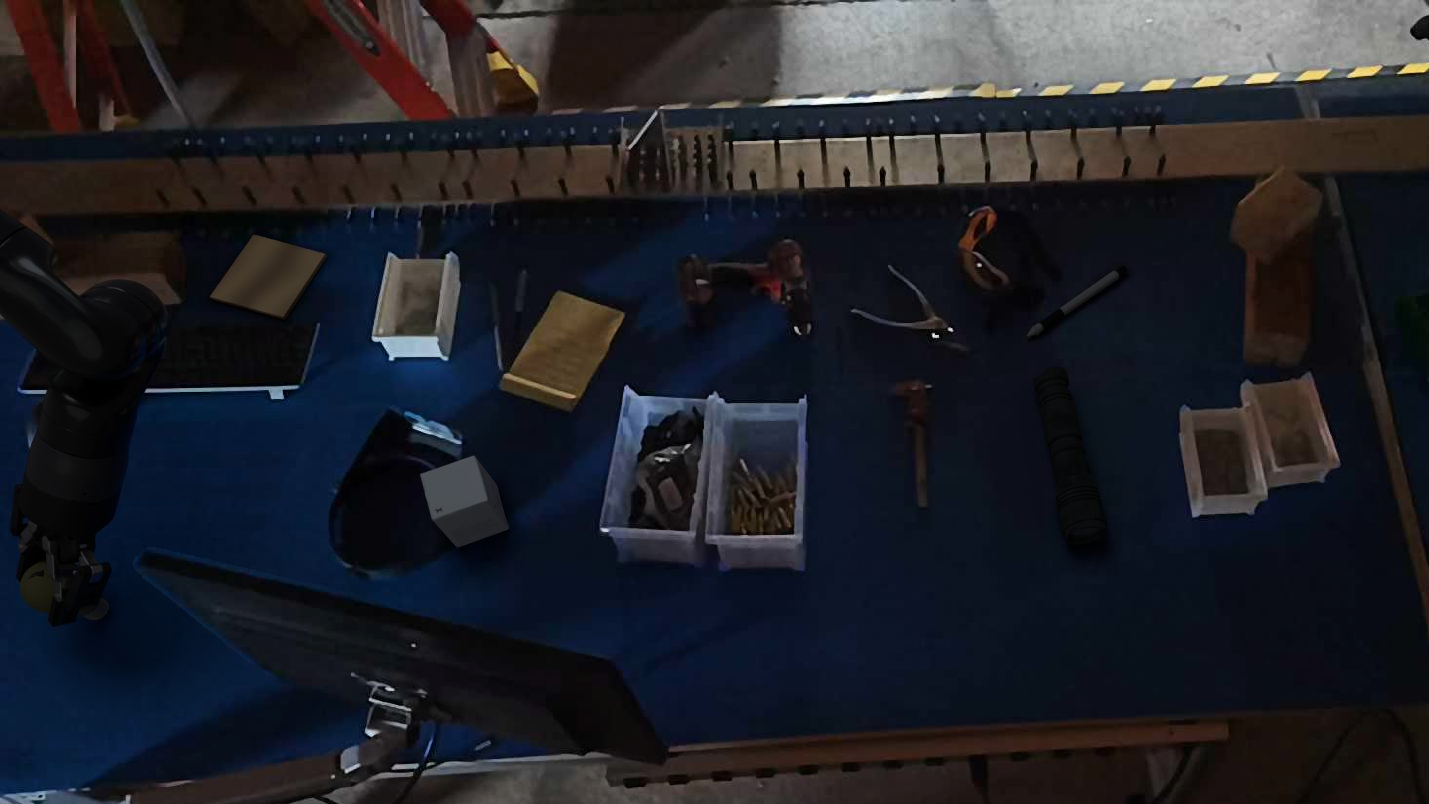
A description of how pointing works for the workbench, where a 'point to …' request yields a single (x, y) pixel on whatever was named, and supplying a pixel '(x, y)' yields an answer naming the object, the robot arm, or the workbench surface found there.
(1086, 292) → the pen
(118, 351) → the robot arm
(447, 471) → the product box
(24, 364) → the workbench surface
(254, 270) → the mat
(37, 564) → the light bulb
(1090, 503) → the flashlight
